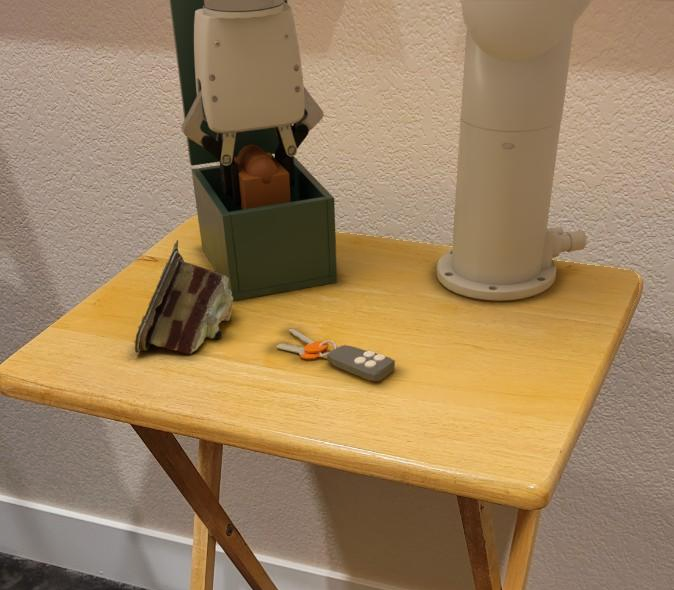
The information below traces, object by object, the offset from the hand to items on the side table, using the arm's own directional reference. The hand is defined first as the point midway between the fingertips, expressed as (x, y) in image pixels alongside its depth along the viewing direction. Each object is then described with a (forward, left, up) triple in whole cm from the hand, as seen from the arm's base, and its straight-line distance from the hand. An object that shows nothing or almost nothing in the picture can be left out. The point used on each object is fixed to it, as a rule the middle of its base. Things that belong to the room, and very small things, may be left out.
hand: (259, 195), depth 93 cm
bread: (0, 0, -1) cm, 1 cm away
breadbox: (0, 0, -7) cm, 7 cm away
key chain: (0, +23, -8) cm, 24 cm away
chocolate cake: (+11, +13, -8) cm, 19 cm away
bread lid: (0, -6, +9) cm, 11 cm away
